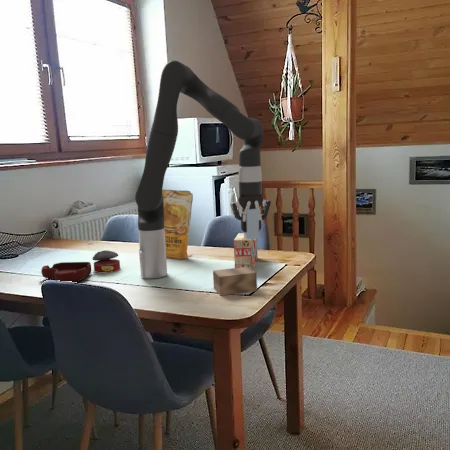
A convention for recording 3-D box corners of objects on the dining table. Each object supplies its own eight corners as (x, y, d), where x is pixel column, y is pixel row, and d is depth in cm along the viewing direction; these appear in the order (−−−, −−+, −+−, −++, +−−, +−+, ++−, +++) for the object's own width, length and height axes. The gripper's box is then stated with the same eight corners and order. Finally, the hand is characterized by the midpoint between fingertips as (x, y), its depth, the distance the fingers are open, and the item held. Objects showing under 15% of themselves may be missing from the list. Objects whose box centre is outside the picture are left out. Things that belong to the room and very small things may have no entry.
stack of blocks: (242, 258, 199) (241, 228, 197) (257, 258, 198) (256, 228, 196) (234, 272, 178) (233, 239, 176) (251, 272, 177) (250, 239, 175)
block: (247, 239, 162) (247, 209, 160) (243, 237, 166) (243, 208, 164) (259, 238, 163) (258, 208, 161) (255, 236, 167) (254, 207, 165)
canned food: (95, 283, 187) (81, 261, 187) (110, 274, 197) (96, 252, 196) (116, 272, 183) (102, 249, 182) (130, 262, 192) (116, 241, 191)
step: (220, 295, 152) (219, 276, 151) (213, 288, 159) (213, 270, 158) (257, 290, 155) (256, 272, 154) (248, 284, 162) (248, 266, 161)
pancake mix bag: (162, 252, 215) (158, 188, 210) (197, 256, 204) (193, 189, 199) (151, 256, 209) (147, 190, 204) (187, 260, 199) (183, 191, 194)
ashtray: (104, 278, 178) (102, 265, 177) (61, 289, 166) (60, 274, 166) (79, 270, 190) (78, 258, 189) (38, 280, 179) (37, 266, 178)
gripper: (232, 182, 156) (234, 235, 158) (274, 179, 159) (275, 231, 162) (226, 180, 163) (227, 231, 166) (266, 178, 166) (267, 228, 169)
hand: (251, 231), depth 164 cm, fingers closed on block, 4 cm apart
